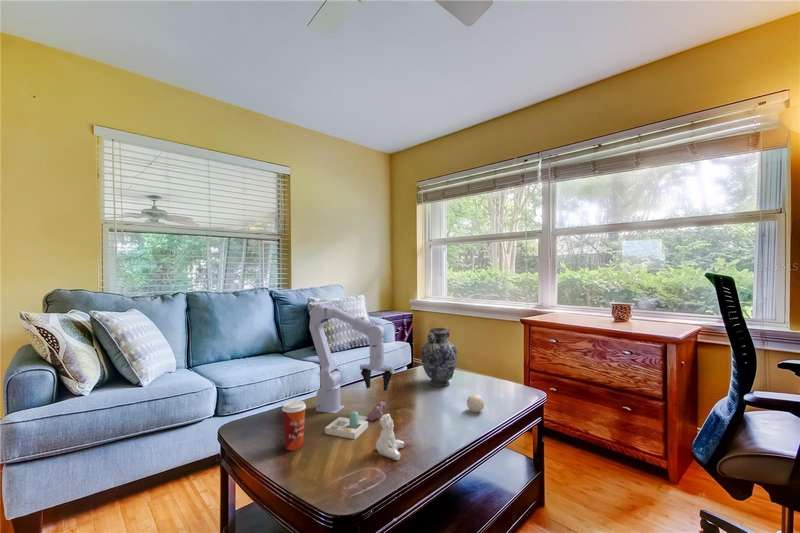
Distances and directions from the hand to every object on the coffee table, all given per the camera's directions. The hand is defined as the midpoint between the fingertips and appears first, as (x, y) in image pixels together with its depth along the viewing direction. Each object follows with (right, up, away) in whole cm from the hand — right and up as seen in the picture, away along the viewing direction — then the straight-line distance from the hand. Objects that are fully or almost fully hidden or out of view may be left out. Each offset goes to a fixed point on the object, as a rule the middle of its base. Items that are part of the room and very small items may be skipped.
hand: (376, 388), depth 142 cm
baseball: (+40, -10, +2) cm, 42 cm away
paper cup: (-26, -10, -26) cm, 38 cm away
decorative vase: (+29, -11, +38) cm, 49 cm away
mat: (-7, -10, -6) cm, 14 cm away
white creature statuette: (+6, -10, -30) cm, 32 cm away
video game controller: (0, -11, -3) cm, 11 cm away
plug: (-7, -10, -16) cm, 20 cm away
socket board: (-10, -10, -15) cm, 21 cm away
